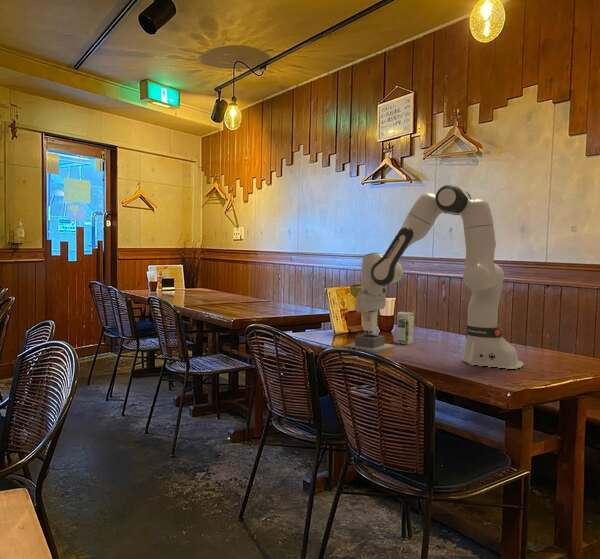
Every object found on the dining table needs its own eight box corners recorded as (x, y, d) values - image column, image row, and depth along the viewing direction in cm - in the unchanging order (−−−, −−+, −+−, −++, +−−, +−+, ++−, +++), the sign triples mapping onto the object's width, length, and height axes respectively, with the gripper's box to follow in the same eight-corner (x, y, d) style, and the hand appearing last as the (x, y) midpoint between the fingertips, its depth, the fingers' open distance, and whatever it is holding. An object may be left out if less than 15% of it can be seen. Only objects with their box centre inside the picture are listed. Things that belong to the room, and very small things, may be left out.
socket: (394, 347, 222) (394, 336, 221) (376, 352, 209) (376, 340, 209) (363, 342, 232) (363, 331, 231) (344, 347, 219) (344, 336, 219)
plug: (376, 329, 220) (377, 309, 220) (371, 331, 217) (372, 310, 216) (367, 328, 223) (368, 308, 223) (362, 329, 220) (363, 309, 219)
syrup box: (396, 343, 231) (397, 312, 230) (402, 341, 236) (403, 311, 235) (406, 344, 227) (407, 313, 226) (413, 343, 232) (414, 312, 231)
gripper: (364, 291, 209) (363, 324, 210) (388, 288, 225) (387, 319, 225) (352, 290, 213) (351, 322, 214) (376, 287, 229) (375, 317, 229)
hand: (370, 320), depth 220 cm, fingers closed on plug, 4 cm apart
